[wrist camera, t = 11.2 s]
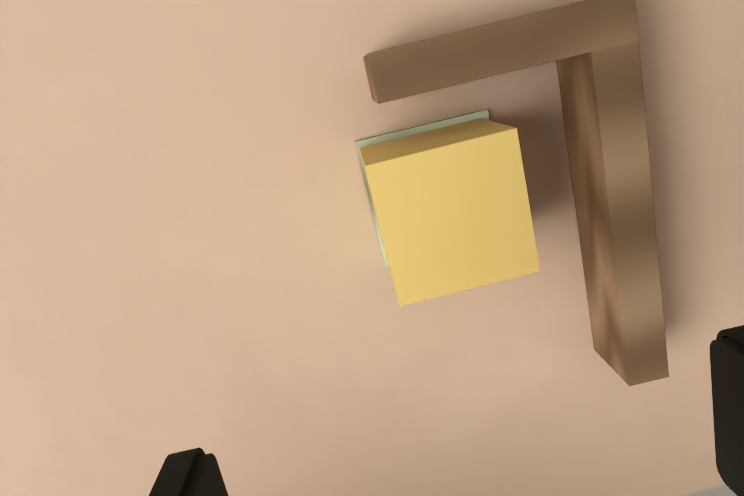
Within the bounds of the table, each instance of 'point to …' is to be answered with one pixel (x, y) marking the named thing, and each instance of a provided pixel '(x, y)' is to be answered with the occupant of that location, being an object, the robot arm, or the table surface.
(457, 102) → the table surface
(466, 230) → the cube
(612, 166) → the brown l-shaped piece
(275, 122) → the table surface
